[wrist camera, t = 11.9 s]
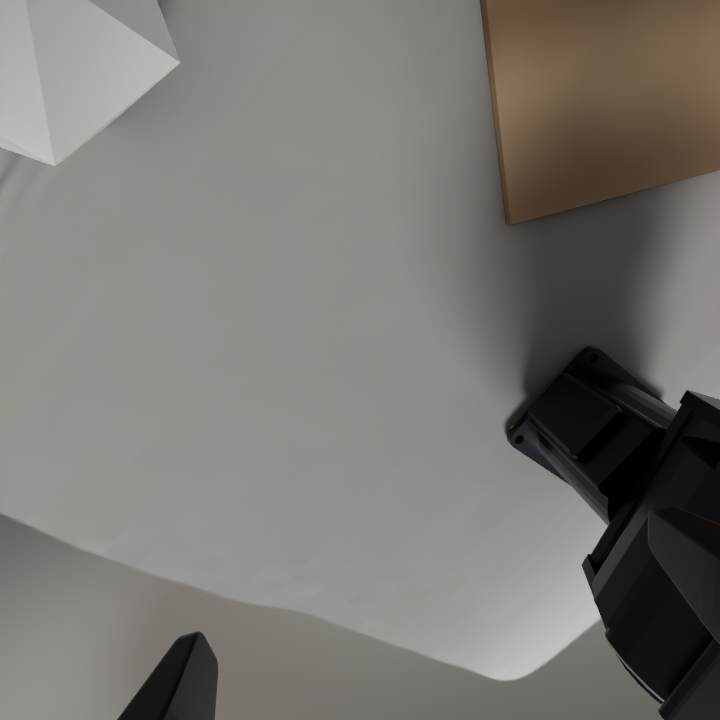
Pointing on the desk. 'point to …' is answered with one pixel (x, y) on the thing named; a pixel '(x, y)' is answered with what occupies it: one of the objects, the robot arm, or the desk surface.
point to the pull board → (600, 98)
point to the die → (75, 69)
